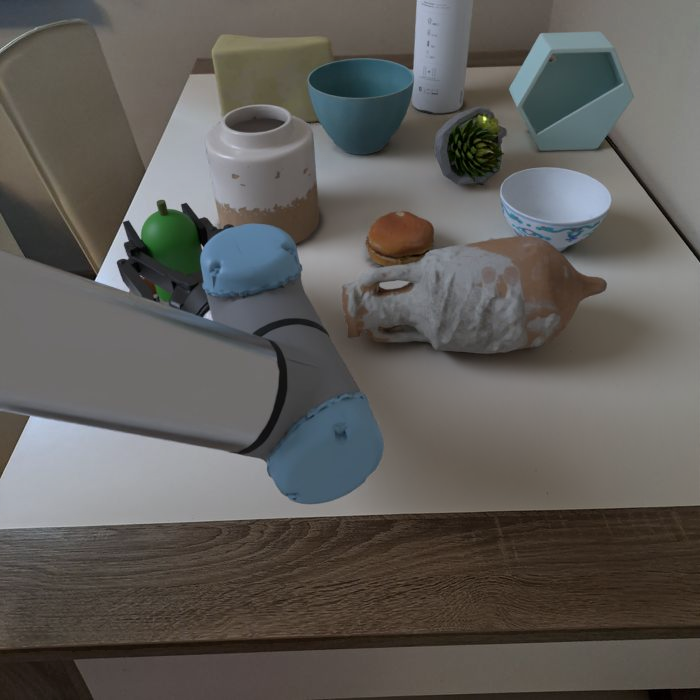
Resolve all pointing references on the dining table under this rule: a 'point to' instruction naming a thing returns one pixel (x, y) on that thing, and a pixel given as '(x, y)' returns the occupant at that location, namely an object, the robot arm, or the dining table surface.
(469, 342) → the amphora
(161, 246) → the green pepper
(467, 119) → the potted plant
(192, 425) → the robot arm
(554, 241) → the chinaware
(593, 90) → the planter
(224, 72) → the cheese
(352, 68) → the plant pot
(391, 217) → the burger
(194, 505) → the dining table surface
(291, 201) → the vase
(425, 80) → the white tall cylinder
